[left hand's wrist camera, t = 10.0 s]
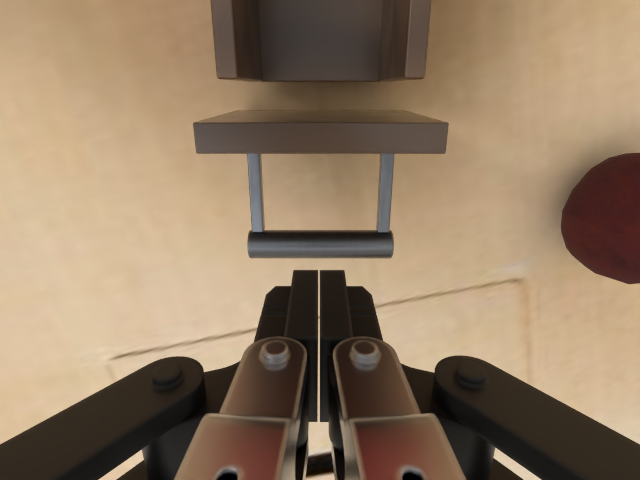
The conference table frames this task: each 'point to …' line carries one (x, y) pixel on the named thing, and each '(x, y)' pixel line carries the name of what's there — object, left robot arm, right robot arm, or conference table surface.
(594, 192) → the dark maroon ball
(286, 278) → the conference table surface
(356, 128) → the drawer
